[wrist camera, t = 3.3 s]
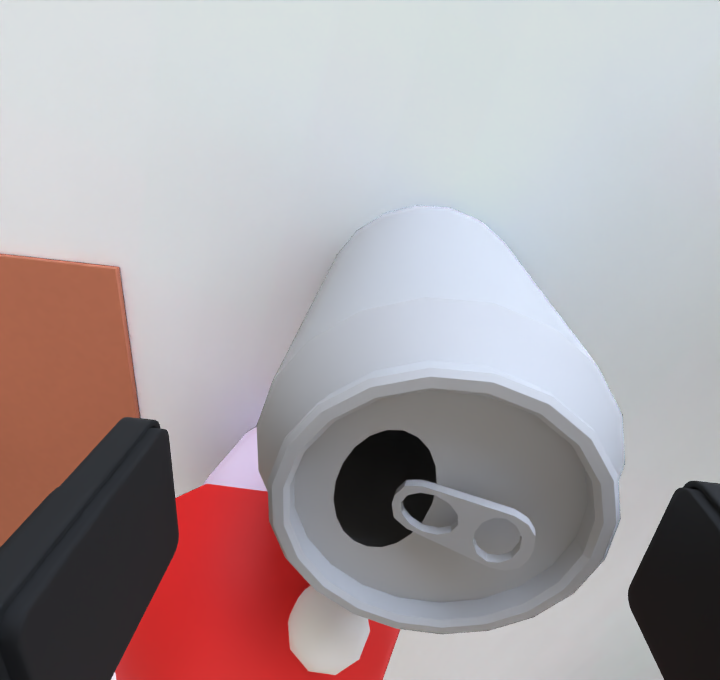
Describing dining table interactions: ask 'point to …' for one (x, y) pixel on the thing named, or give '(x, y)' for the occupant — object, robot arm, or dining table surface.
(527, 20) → the dining table surface
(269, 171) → the dining table surface
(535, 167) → the dining table surface
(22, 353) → the napkin
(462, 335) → the can
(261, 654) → the mushroom
